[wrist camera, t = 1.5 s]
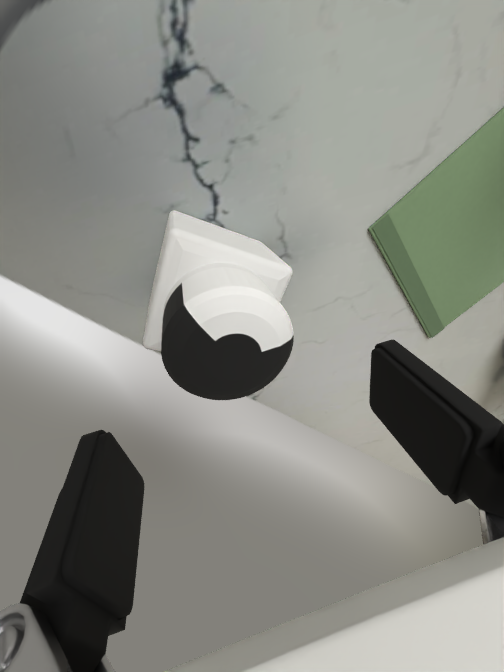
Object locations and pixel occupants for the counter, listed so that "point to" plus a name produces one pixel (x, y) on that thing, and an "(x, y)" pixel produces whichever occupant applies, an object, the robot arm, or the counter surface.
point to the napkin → (450, 231)
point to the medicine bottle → (218, 310)
